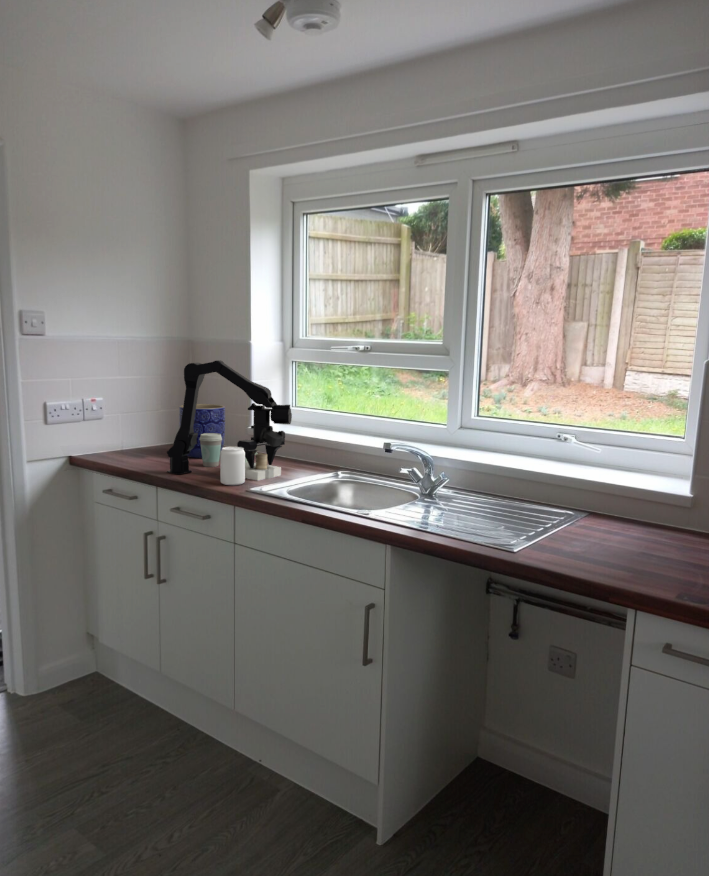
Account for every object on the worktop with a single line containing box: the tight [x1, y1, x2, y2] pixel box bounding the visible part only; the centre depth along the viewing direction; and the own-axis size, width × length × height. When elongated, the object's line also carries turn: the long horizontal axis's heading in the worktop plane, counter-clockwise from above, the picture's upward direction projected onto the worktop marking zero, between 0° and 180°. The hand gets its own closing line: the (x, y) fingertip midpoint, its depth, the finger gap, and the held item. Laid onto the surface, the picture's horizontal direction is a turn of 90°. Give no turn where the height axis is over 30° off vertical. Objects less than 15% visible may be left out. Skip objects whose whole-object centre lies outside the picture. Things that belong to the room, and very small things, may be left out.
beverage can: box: [219, 446, 246, 486], centre depth 229 cm, size 8×8×12 cm
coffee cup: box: [199, 433, 222, 468], centre depth 259 cm, size 8×9×12 cm
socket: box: [245, 462, 282, 482], centre depth 244 cm, size 17×12×3 cm
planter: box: [178, 403, 226, 459], centre depth 279 cm, size 18×18×21 cm
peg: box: [255, 452, 268, 470], centre depth 242 cm, size 4×4×8 cm
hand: (261, 466), depth 242 cm, fingers open, 9 cm apart
